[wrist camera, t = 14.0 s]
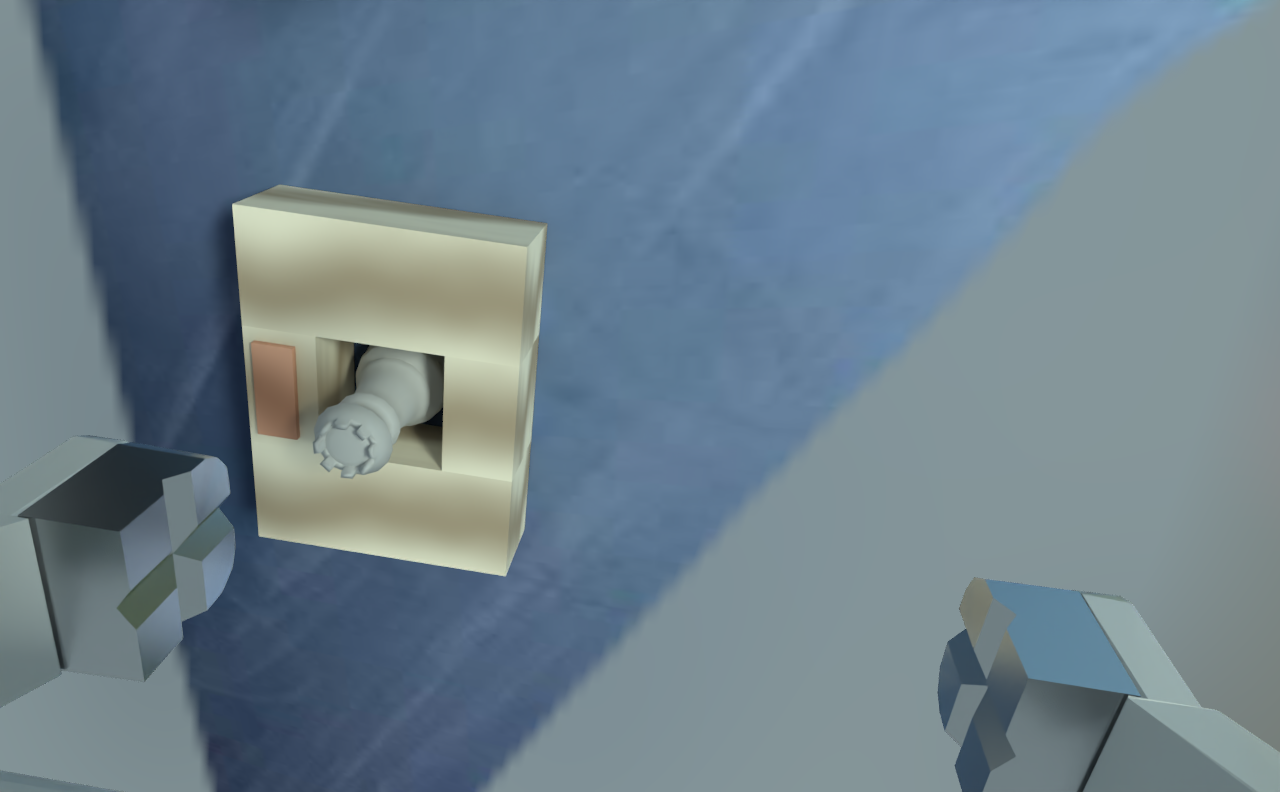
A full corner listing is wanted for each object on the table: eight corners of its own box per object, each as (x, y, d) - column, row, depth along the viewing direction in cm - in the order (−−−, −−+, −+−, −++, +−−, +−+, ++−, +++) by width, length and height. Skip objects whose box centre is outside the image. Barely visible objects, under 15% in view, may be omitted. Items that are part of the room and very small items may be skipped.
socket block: (279, 184, 38) (228, 205, 34) (547, 223, 38) (525, 248, 34) (297, 493, 45) (255, 539, 41) (524, 529, 45) (504, 580, 41)
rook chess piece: (361, 399, 42) (284, 483, 35) (371, 316, 40) (292, 386, 33) (449, 423, 42) (391, 511, 35) (464, 342, 41) (405, 417, 33)
